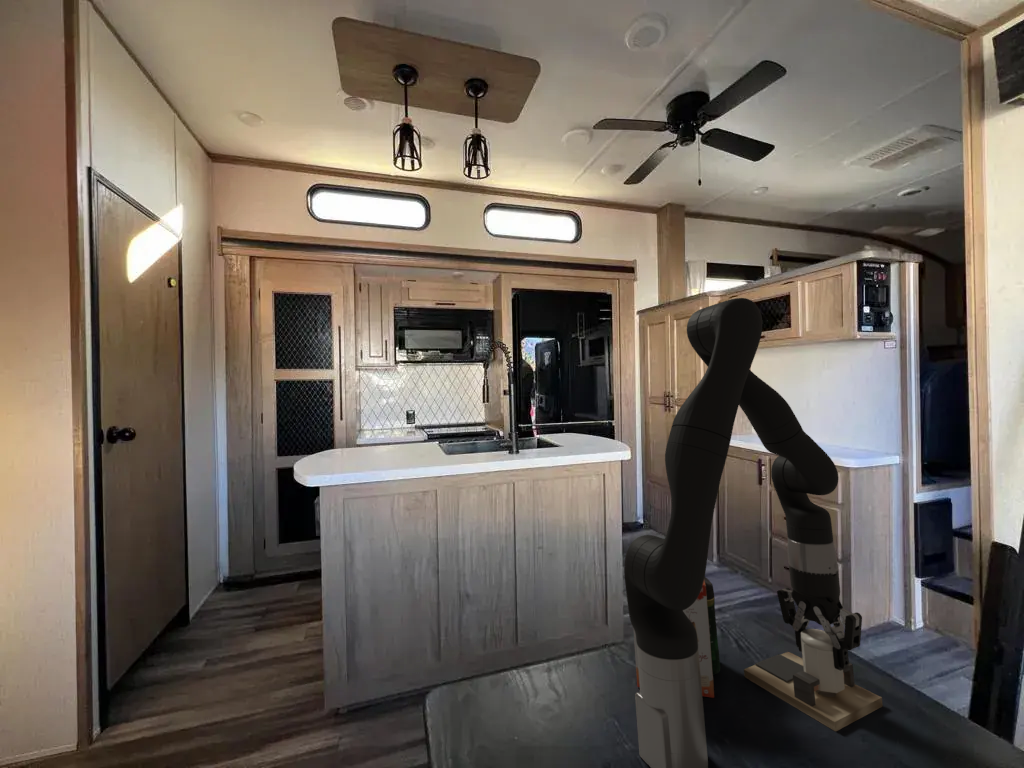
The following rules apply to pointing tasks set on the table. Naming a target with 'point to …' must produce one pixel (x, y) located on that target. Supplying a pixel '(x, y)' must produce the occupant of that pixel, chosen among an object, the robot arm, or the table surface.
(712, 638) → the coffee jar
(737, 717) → the table surface
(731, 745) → the table surface
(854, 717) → the bulb mounting plate
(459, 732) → the table surface
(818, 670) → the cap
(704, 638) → the cracker box
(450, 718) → the table surface
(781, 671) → the mat
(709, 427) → the robot arm
